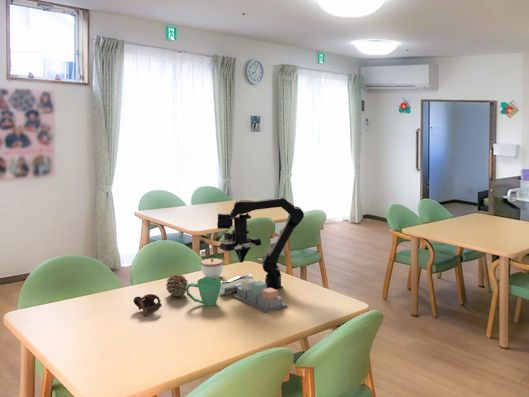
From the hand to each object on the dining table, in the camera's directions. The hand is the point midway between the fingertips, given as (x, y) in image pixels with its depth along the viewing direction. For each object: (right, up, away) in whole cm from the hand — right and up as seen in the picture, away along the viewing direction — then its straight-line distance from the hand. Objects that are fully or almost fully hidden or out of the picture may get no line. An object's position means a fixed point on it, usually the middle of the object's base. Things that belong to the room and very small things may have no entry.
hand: (241, 262), depth 230 cm
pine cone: (-29, -13, -4) cm, 32 cm away
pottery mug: (-36, -17, -26) cm, 47 cm away
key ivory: (+4, -12, -10) cm, 16 cm away
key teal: (+8, -11, -16) cm, 21 cm away
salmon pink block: (+13, -13, -22) cm, 29 cm away
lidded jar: (-15, -10, +19) cm, 26 cm away
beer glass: (-9, -10, -8) cm, 16 cm away
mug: (-15, -15, -19) cm, 28 cm away
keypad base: (+8, -14, -16) cm, 23 cm away
